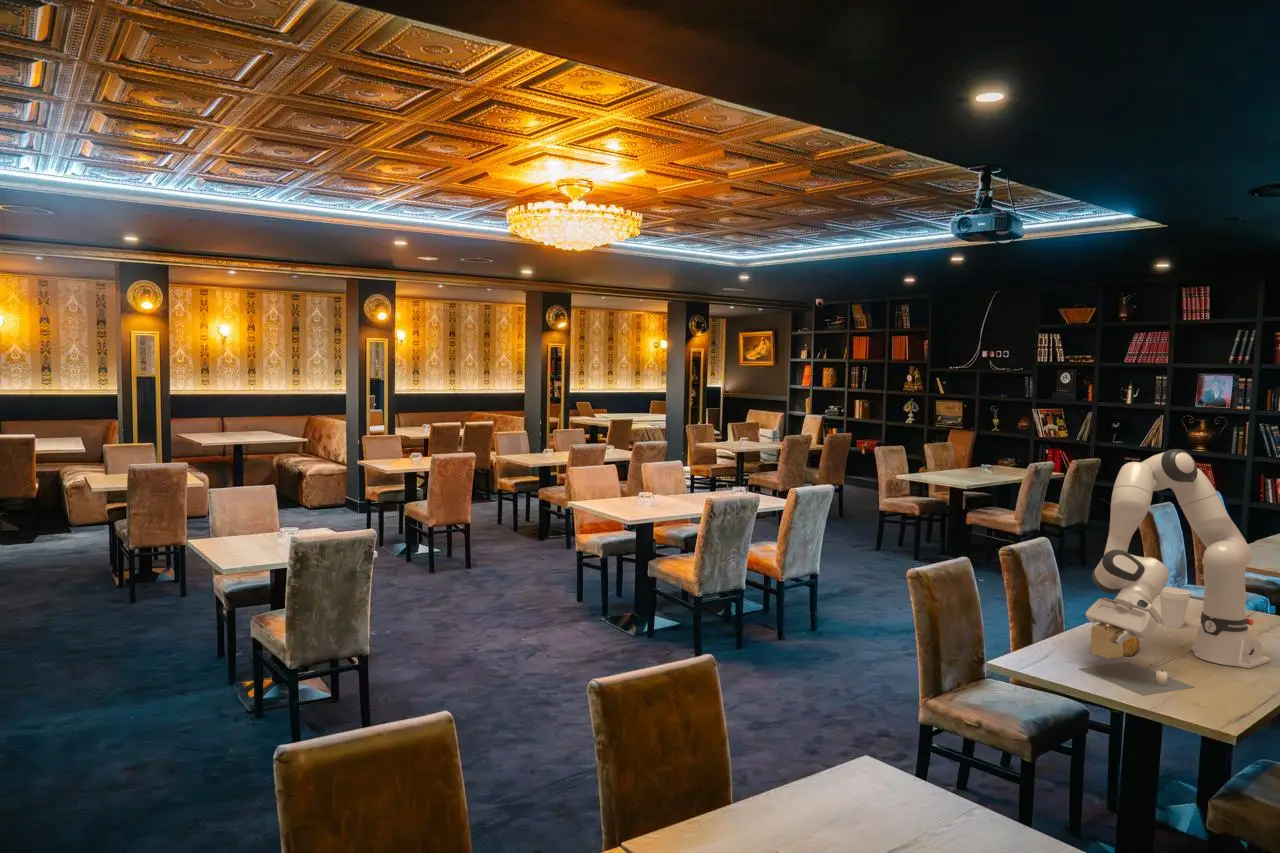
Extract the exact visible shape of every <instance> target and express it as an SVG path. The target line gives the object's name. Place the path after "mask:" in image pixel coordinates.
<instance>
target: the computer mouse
mask: <svg viewBox="0 0 1280 853" xmlns="http://www.w3.org/2000/svg"><path fill="white" fill-rule="evenodd" d="M1155 672H1156V684H1158V685H1162V686H1166V685H1167V677H1168V672H1167V671H1164V670H1163V669H1161V670H1156V671H1155Z"/></svg>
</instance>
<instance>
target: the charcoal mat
mask: <svg viewBox="0 0 1280 853" xmlns="http://www.w3.org/2000/svg"><path fill="white" fill-rule="evenodd" d="M1078 670H1080V671H1081V672H1085V673H1086V674H1089V675H1092V676H1094V677H1096V678H1099V679H1101V680H1104V681H1105V682H1108V683H1112V684H1113V685H1116V686H1119V687H1121V688H1123V689H1126V690H1128V691H1130V692H1133V693H1135V694H1138V695H1140V696H1144V697H1145V696H1149V695H1156V694H1157V695H1158V694H1163V693H1170V692H1175V691H1181V690H1188V689H1195V688H1196V686H1193V685H1190V684H1188V683H1185V682H1182V681H1179V680H1177V679H1174V678H1172V677H1169V676H1167V685H1166V686H1162V685H1158V684H1156V671H1154V670H1152V669H1148V668H1146V667H1143V666H1141V665H1138V664H1135V663H1132V662H1130V661H1123V662H1118V663H1110V664H1103V665H1102V664H1101V665H1096V666H1095V665H1094V666H1088V667H1081V668H1078Z"/></svg>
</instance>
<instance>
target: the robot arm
mask: <svg viewBox="0 0 1280 853" xmlns="http://www.w3.org/2000/svg"><path fill="white" fill-rule="evenodd" d="M1112 489H1113V490H1112V494H1111V501H1110V516H1109V518H1110V519H1109V530H1108V536H1107V540H1106V544H1105V548H1104V553H1103V556H1102V558H1101V560H1099V563H1098V564H1097V566H1096V567H1095V568H1094V570H1093V571H1092V574H1091V578H1092V582H1093V584H1094V585H1095V587H1096V588H1097V589H1099V590H1100V591H1102V592H1103V593H1106V594H1110V595H1111V594H1116V596H1115V598H1114V599H1113V598H1110V597H1106V596H1105V597H1102V598H1098V599H1097V600H1096V601H1094V603H1093V604H1092V605H1091V606H1090V607H1089V608H1088V609H1087V610H1086V612H1085V617H1086V619H1087V620H1088V621H1089V622H1090V623H1092V624H1094V626H1098V625H1105V624H1109V625H1111V626H1113V627H1116V628H1119V629H1122V630H1124V631H1123V633H1124V634H1122V635H1121V636H1119V637H1118V636H1116V637H1115V639H1114V642H1115V643H1116V644H1118V645H1121V644H1122V643H1123V641H1125V640H1127V639H1130V638H1131V636H1134V637H1136V638H1138V639H1141V640H1147V639H1150V638H1151V636H1152V635H1154V632H1155V631H1156V630H1157V627H1158V623H1160V622H1161V621H1162V615H1161V614H1160V613H1159V612H1158V610H1157V609H1156V608H1155V607H1154V605H1153V602H1154V600H1155V599H1156V598H1157V597H1158V596H1160V595H1159V594H1160V592H1161V591H1162V590H1163V588H1164V587H1166V585H1167V583H1168V580H1169V578H1170V573H1169V569H1168V568H1167V566H1166V565H1165V564H1164V563H1163V562H1161V561H1160V560H1158V559H1157V558H1155V557H1151V556H1149V557H1148V556H1147V557H1144V556H1138V555H1134V554H1130V553H1129V552H1128V551H1129V546H1130V543H1131V540H1132V537H1133V535H1134V534H1135V532H1136V531H1137V530H1138V528H1139V526H1140V525H1141V524H1142V522H1143V521H1144V519H1145V517H1146V516H1147V514H1148V512H1149V510H1150V506H1151V503H1152V499H1153V493H1155V492H1158V491H1161V490H1166V489H1170V490H1172V492H1174V495H1175V498H1176V500H1177V502H1178V504H1179V506H1180V508H1181V510H1182V512H1183V514H1184V517H1185V518H1186V520H1187V521H1188V524H1189V526H1190V528H1191V529H1192V530H1193V531H1194V532H1195V534H1196V535H1197V536H1198V537H1199V539H1200V541H1201V542H1202V543H1203V545H1204V546H1205V548H1206V549H1205V550H1204V552H1203V556H1202V558H1203V560H1202V562H1203V564H1202V565H1203V566H1202V568H1203V581H1204V587H1203V588H1204V592H1203V593H1204V594H1203V606H1202V607H1203V608H1202V611H1201V615H1200V617H1199V618H1200V624H1201V625H1199V626H1198V627H1197V630H1196V635H1195V641H1194V645H1192V646H1191V651H1192V652H1193V655H1194V656H1195V657H1197V658H1199V659H1201V660H1203V661H1207V662H1210V663H1215V664H1218V665H1224V666H1231V667H1233V666H1234V667H1239V668H1244V669H1252V668H1255V667H1258V666H1260V665H1264V664H1266V663H1269V662H1271V658H1270V657H1269V656H1267V655H1265V654H1262V642H1261V641H1260V640H1259V639H1258V638H1257V637H1256V636H1255V635H1254V634H1253V633H1252V632H1250V630H1249V628H1248V626H1253V624H1254V619H1252V618H1249V617H1246V616H1245V614H1246V603H1247V602H1246V601H1247V591H1246V568H1247V567H1248V566H1249V565H1250V563H1251V562H1252V559H1253V553H1252V549H1251V547H1250V545H1249V544H1248V543H1247V541H1246V539H1245V537H1244V536H1243V534H1242V533H1241V531H1240V530H1239V528H1238V527H1237V525H1236V524H1235V523H1234V522H1233V520H1232V519H1231V517H1230V515H1229V514H1228V511H1227V510H1226V508H1225V506H1224V503H1223V502H1222V500H1221V498H1220V497H1219V495H1218V492H1217V491H1216V489H1215V487H1214V485H1213V484H1212V482H1211V481H1210V480H1209V478H1208V477H1207V475H1206V474H1205V473H1204V472H1203V470H1202V469H1200V468H1198V466H1197V463H1196V461H1195V459H1194V457H1193V456H1192V455H1191V454H1190V453H1189V452H1188V451H1186V450H1184V449H1180V448H1179V449H1178V448H1176V449H1170V450H1167V451H1165V452H1161V453H1157V454H1154V455H1152V456H1150V457H1148V458H1147V459H1145V460H1143V461H1140V462H1139V461H1131V462H1130V461H1129V462H1127V463H1125V464H1124V465H1122V466H1121V468H1120V469H1119V472H1118V474H1117V477H1116V478H1115V482H1114V485H1113V488H1112Z"/></svg>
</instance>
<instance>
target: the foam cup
mask: <svg viewBox="0 0 1280 853" xmlns="http://www.w3.org/2000/svg"><path fill="white" fill-rule="evenodd" d="M1190 595H1191V591H1189V590H1186V589H1183V588H1178V587H1171V586H1164V588H1163V590H1162V591H1161V592H1160V594H1159V595H1158V596H1159V599H1160V602H1159V603H1160V613H1161V614H1160V615H1161V623H1162V624H1161V625H1163V626H1164V625H1165V627H1167V626H1168V627H1167V628H1173V629H1182V628H1183V626H1184V622H1185V618H1186V613H1187V609H1188V604H1189V600H1190V597H1191V596H1190Z"/></svg>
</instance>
